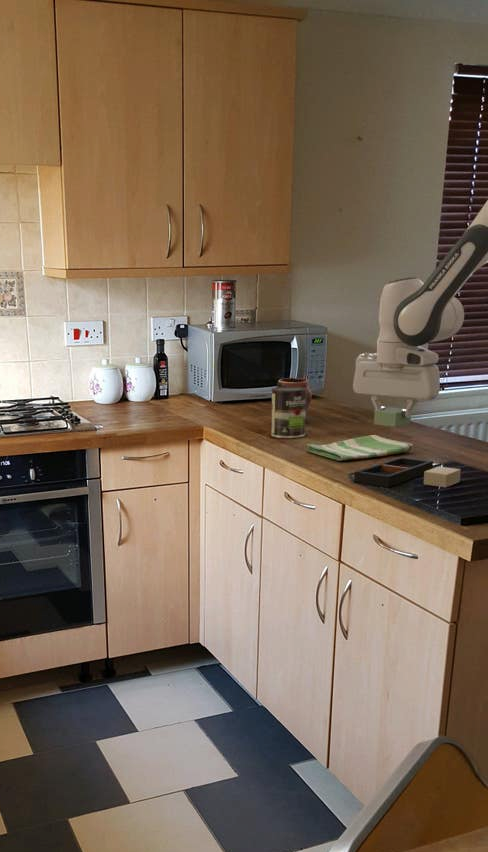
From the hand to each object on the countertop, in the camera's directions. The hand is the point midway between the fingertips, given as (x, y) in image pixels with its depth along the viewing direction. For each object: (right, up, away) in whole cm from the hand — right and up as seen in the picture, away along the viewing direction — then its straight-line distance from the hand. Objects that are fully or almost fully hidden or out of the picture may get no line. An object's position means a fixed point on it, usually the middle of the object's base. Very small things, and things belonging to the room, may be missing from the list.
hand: (393, 416), depth 200 cm
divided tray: (+3, -13, +10) cm, 16 cm away
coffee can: (-15, +6, +65) cm, 67 cm away
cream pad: (+12, -15, +2) cm, 19 cm away
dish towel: (+1, -3, +38) cm, 38 cm away
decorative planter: (-10, +14, +87) cm, 89 cm away
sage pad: (0, -2, 0) cm, 2 cm away
